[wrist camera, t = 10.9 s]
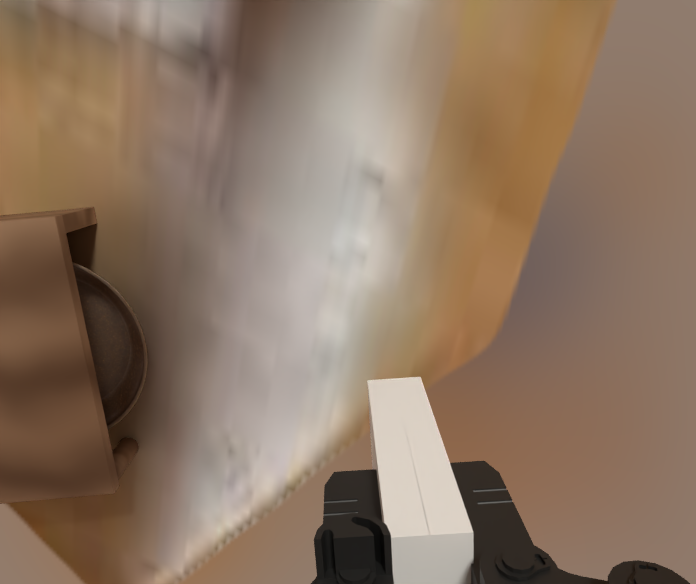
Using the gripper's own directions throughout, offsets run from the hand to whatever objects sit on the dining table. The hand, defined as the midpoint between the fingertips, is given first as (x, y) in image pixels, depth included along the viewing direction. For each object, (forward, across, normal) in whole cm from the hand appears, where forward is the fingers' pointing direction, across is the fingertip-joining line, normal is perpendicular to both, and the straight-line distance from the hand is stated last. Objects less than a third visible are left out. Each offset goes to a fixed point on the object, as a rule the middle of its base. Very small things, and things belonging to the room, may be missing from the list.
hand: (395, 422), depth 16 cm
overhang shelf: (+28, -26, -6) cm, 39 cm away
